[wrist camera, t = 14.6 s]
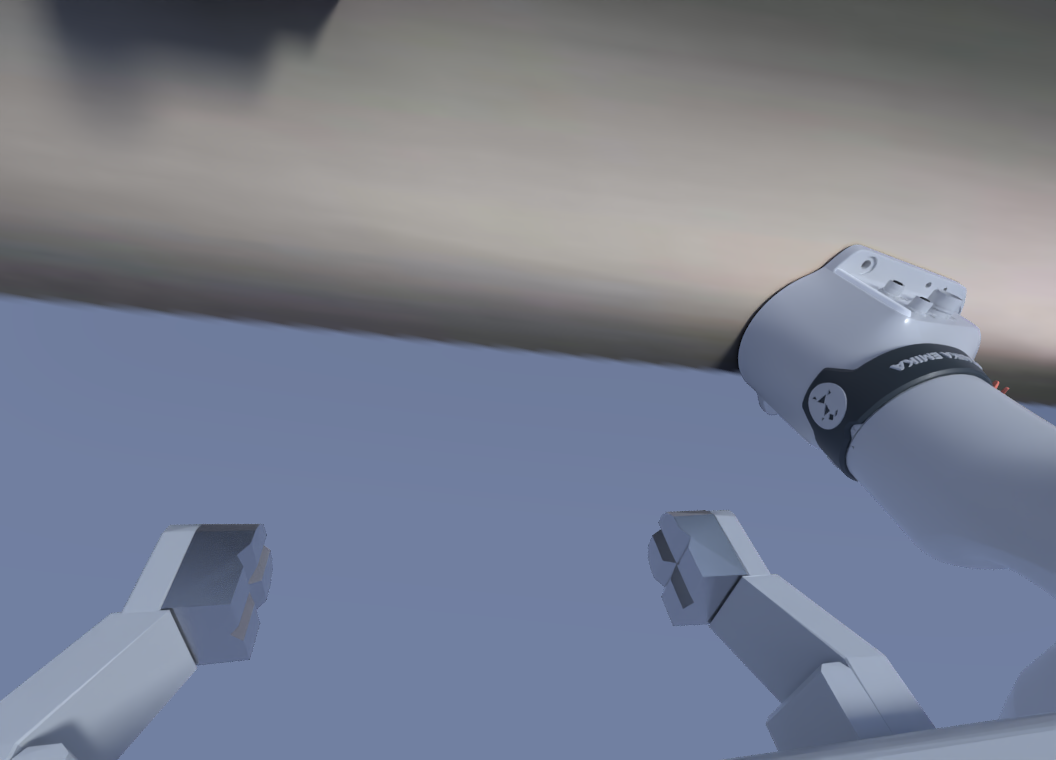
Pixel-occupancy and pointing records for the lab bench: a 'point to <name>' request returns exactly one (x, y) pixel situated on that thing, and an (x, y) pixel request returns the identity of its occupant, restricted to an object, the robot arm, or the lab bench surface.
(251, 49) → the lab bench surface
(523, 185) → the lab bench surface
